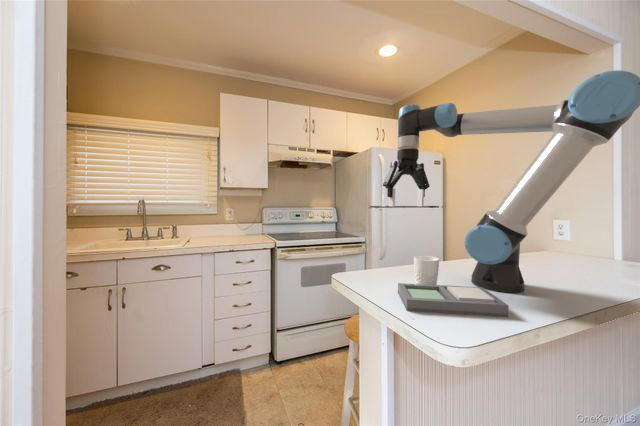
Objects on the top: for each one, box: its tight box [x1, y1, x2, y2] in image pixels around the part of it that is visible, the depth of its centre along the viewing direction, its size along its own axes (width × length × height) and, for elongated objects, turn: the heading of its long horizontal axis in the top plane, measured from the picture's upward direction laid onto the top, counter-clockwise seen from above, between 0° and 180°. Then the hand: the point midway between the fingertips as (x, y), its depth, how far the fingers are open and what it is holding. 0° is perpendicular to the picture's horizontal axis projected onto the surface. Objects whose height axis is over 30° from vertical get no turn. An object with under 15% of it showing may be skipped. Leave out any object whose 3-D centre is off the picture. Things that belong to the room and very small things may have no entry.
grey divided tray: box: [397, 282, 509, 318], centre depth 73 cm, size 25×13×3 cm, turn 83°
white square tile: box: [446, 285, 495, 302], centre depth 73 cm, size 9×9×1 cm
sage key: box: [407, 289, 444, 299], centre depth 74 cm, size 9×9×1 cm
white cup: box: [413, 255, 440, 285], centre depth 86 cm, size 8×8×10 cm
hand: (406, 206), depth 98 cm, fingers open, 13 cm apart
